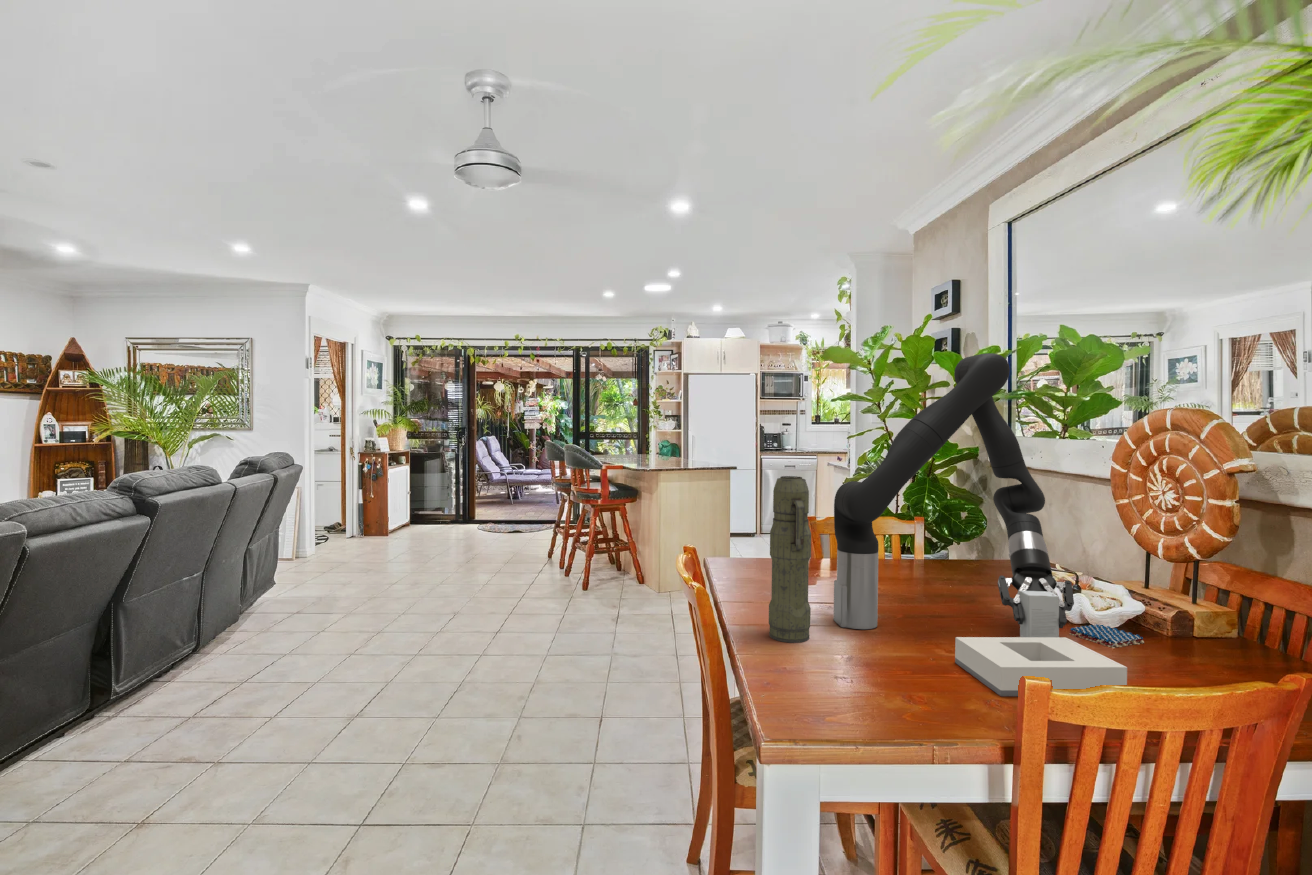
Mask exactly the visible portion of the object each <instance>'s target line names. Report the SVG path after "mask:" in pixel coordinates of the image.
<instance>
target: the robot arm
mask: <svg viewBox="0 0 1312 875" xmlns="http://www.w3.org/2000/svg"><path fill="white" fill-rule="evenodd" d="M1010 370H1011V369H1010V364H1009V362H1008V360H1007V359H1006V358H1005V357H1004V356H1002V354H998V353H993V352H991V353H990V352H988V353H981V354H975V355H970V356H967V357H966V356H965V357H963V359H961V360H959V361H958V362H957V364H956V366H955V368H954V380H955V383H956V385H955V386H954V387H952V389H951V390H949V391H948V393H946V394H944V395H942V397H940V398H938V399H937V400H935V401H934V402H932V403H930V404H928V406H926V407H924V408H923V409H922V410H920V411H919V412H918V413H916V415H914V416H913V417H912V418H911V419H910V420H909V421H908V422H907V423H906V424H905V425H904V426H903V427H902V428H901V430H900V431H899V432H898V433H897V434H896V436H895V437H894V439H893V440H892V442H891V444H890V446H889V449H888V451H887V453H886V455H885V457H884V459H883V460H882V462H880V464H879V465H878V467H876V468H875V469H874V470H873V472H871V473H870V474H869V475H868V476H867V477H865V479H863V480H862V481H852V480H851V481H847V482H845V483H842V485H840V486H839V488H837V490H836V491H835V492H836V493H835V496H834V500H833V501H834V502H833V518H834V519H833V520H834V523H833V525H834V529H833V530H834V536H835V540H836V543H837V544H836V579H835V580H833V621H834V622H835V623H836V624H837V625H838V626H840V628H847V629H854V630H873V629H875V628H877V627H878V610H879V609H878V607H879V605H878V600H879V599H878V598H879V597H878V596H879V545H880V544H879V540H878V538H877V536H876V535H875V532H874V528H873V522H874V521H876V520H877V519H879V518H880V517H881V515H883V513H884V512H885V511H886V509H887V508H889V506H890V504H891V502H892V501H893V500H894V499H895V497H896V496H897V495H898V494H899V493H900V492H901V490H902V489H903V487H905V485H906V484H907V483H908V482H909V481H910V480H911V479H912V478H913V477H914V476H915V475H916V474H917V473H918V472H919V471H920V470H921V469H922V468H923V467H924V465H925V464H927V462H929V461H930V459H932V458H933V457H934V456H935V455H936V453H938V451H940V450H941V449H942V447H944V446H945V444H946V443H947V442H948V440H949V439H951V438H952V437H953V435H954V434H955V433H956V432H957V431H958V430H959V429H960V428H961V427H962V426H963V424H964V423H965V422H966V421H967V420H968V419H969V418H970V417H971V416H972V418H973V420H974V422H975V425H976V426H977V429H978V432H979V434H980V436H981V440H982V441H983V444H984V448H985V449H986V453H987V458H988V460H989V463H990V466H991V469H992V473H993V475H994V477H996V478H998V479H1013V480H1016V481H1018V482H1020V483H1018V484H1013V485H1007V486H1003V487H1002V486H1001V487H999V488H997V489H996V491H994V493H993V497H992V498H993V499H992V500H993V504H994V505H995V508H996V510H997V512H998V513H999V514H1000V516H1001V517H1002V521H1004V522H1003V523H1004V524H1005V528H1006V533H1007V539H1008V540H1007V541H1008V557H1009V561H1010V565H1011V573H1012V574H1011V575H1012V576H1011V577H1005V575H999V577H998V579H997V587H998V590H999V591H998V592H999V596H1000V600H1001V604H1002V605H1003V606H1009V607H1011V608H1012V612H1013V613H1012V614H1013V618H1014V619H1013V620H1014V621H1015V622H1017V624H1018V625H1020V624H1023V621H1024V618H1023V612H1022V605H1021V604H1020V601H1021V599H1020V591H1048V592H1051V593H1053V594H1055V595H1057V596H1059V595H1058V593H1057V592H1056V591H1055V589H1058V590H1059V592H1060V593H1061V594H1062V595H1063V601H1062V600H1061V598H1060V597H1059V629H1063V628H1064V627H1065V626H1066V625H1067V621H1068V620H1067V615H1066V614H1067V613H1066V611H1067V612H1071V611H1072V609H1073V607H1074V605H1075V600H1074V591H1073V584H1072V581H1071V580H1065V581H1058V580H1056V579H1055V578H1054V577H1053V571H1052V566H1051V561H1050V556H1049V552H1048V548H1047V547H1048V546H1047V544H1046V541H1045V539H1044V534H1043V533H1044V532H1043V529H1042V524H1041V522H1040V520H1039V518H1038V517H1037V516H1036V515H1034V514H1031V513H1036V512H1040V511H1041V510H1042V509H1044V507H1045V505H1046V498H1045V495H1044V492H1043V491H1042V489H1041V488H1040V486H1039V485H1038V483H1037V482H1036V480H1035V479H1034V478H1033V476H1032V475H1031V472H1030V471H1029V470H1028V467H1027V465H1026V462H1025V460H1024V456H1023V453H1022V451H1021V450H1022V449H1021V447H1020V443H1019V441H1018V439H1017V437H1016V435H1015V432H1014V431H1013V430H1012V428H1011V427H1010V426H1009V424H1008V423H1007V422H1006V420H1005V419H1004V417H1003V416H1002V414H1001V413H1000V411H999V409H998V407H997V405H996V403H995V401H994V397H993V396H994V395H995V394H997V393H998V392H999V391H1000V390H1001V389H1002V388H1003V387H1004V386H1005V385H1006V383H1007V382H1008V379H1009V376H1010V373H1011V371H1010ZM1011 585H1012V586H1013V587H1014V588H1015V589H1016V590H1017V593H1016V594H1015V597H1012V596H1010V592H1009V588H1010V586H1011Z"/></svg>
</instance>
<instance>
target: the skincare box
mask: <svg viewBox="0 0 1312 875" xmlns="http://www.w3.org/2000/svg"><path fill="white" fill-rule="evenodd" d="M1057 595H1058V594H1057ZM1057 595H1055V594H1053V593H1051V592H1048V591H1020V599H1021V601H1020V604H1021V605H1022V612H1023V618H1024V621H1023V624H1019V627H1020V628H1019V637H1060V628H1059V598H1060V596H1059V595H1058V596H1057Z"/></svg>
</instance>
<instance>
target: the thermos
mask: <svg viewBox="0 0 1312 875" xmlns="http://www.w3.org/2000/svg"><path fill="white" fill-rule="evenodd" d="M806 480H807V479H805V478H803V477H802V476H797V475H796V476H793V475H789V476H788V475H783V476H782V475H781V476H780V477H778V478H777V479H776V481H775V484H774V487H773V493H772V494H773V497H772V499H773V502H772V510H773V511H772V513H773V518H772V525H771V528H770V531H769V556H770V558H771V597H770V598H771V599H770V601H769V604H768V624H769V632H768V633H769V635H768V636H769V638H770V639H772V640H775V641H778V642H782V643H793V644H796V643H797V644H798V643H804V642H807V641H809V639H810V627H811V605H810V602H809V571H810V570H809V565H810V564H809V562H810V559H811V557H812V531H811V529H810V526H809V525H810V524H809V523H810V522H809V519H808V514H809V512H810V511H809V506H810V502H809V501H810V497H809V496H810V490H809V487H808V484H807V481H806Z"/></svg>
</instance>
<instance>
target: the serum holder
mask: <svg viewBox="0 0 1312 875" xmlns="http://www.w3.org/2000/svg"><path fill="white" fill-rule="evenodd" d="M954 638H955V641H954V642H955V643H954V644H955V645H954V647H955V649H954V663H955V664H956V665H957V666H959V667H961V668H962V669H963V670H965V671H966V672H967V673H968V674H970V675H971V676H973V677H974V678H976V679H977V680H978V681H979V682H981V683H982V684H983V685H984V686H986V687H987V688H989V689H990V690H992V691H993V692H995V694H997V695H998V696H1000V697H1019V696H1018V685H1019V680H1020V678H1021V677H1022V676H1035V677H1045V678H1049V679H1050V680H1052V686H1053V689H1086V688H1090V687H1095V686H1100V685H1127V686H1128V667H1127V666H1125V665H1123V664H1122V663H1119V662H1117V661H1115V660H1113V659H1111V658H1109V657H1107V656H1105V655H1103V654H1101V653H1099V652H1097V651H1095V650H1093V649H1090V648H1088V647H1086V646H1084V645H1082V644H1080V643H1078V642H1076V641H1075V640H1072V639H1070V638H1068V637H1063V636H1062V637H1060V636H1059V637H1020V636H1016V637H1015V636H1014V637H1012V636H1010V637H1008V636H1007V637H1005V636H1003V637H1000V636H999V637H998V636H997V637H996V636H995V637H993V636H992V637H990V636H985V637H984V636H981V637H980V636H979V637H978V636H974V637H973V636H966V637H965V636H963V637H962V636H956V637H954Z"/></svg>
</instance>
